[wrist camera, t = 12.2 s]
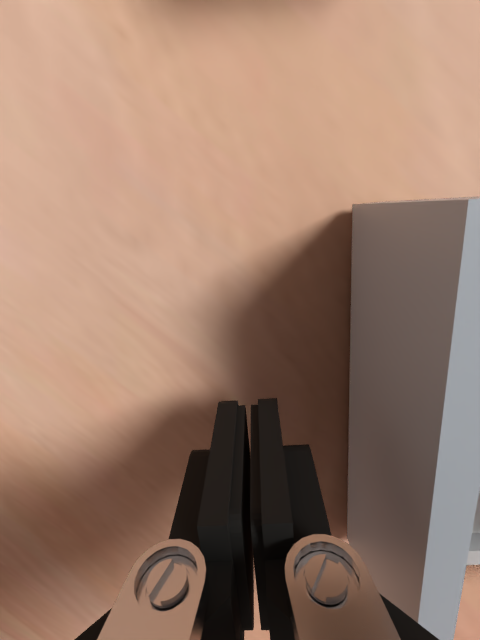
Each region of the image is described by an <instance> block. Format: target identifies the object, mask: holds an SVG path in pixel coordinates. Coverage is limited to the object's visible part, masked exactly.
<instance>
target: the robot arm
mask: <svg viewBox="0 0 480 640" xmlns="http://www.w3.org/2000/svg"><path fill="white" fill-rule="evenodd" d="M253 556H254V565H255V575H256V584H257V594H258V603H259V613H260V622H261V630H270V640H439V639H438V638H437V637H435V636H434V635H433V634H431V633H430V632H429V631H427V630H426V629H425V628H424V627H422V626H421V625H420V624H418V623H417V622H416V621H415V620H413V619H412V618H411V617H409V616H408V615H407V614H406V613H404V612H403V611H402V610H400V609H399V608H398V607H397V606H395V605H394V604H393V603H391V602H390V601H389V600H388V599H386V598H385V597H384V596H382V595H381V594H380V593H379V592H378V590H377V588H376V586H375V584H374V581H373V579H372V577H371V575H370V573H369V571H368V569H367V567H366V565H365V563H364V561H363V560H362V558H361V557H360V555H359V554H358V552H357V551H355V550H354V549H353V548H352V547H351V546H350V545H349V544H348V543H346V542H344V541H343V540H341V539H339V538H337V537H334V536H331V532H330V527H329V523H328V519H327V515H326V511H325V507H324V503H323V499H322V495H321V490H320V486H319V482H318V478H317V474H316V470H315V466H314V462H313V457H312V453H311V449H310V446H309V445H289V446H283V443H282V435H281V428H280V420H279V412H278V404H277V398H274V399H258V405H251V458H250V448H249V438H248V427H247V417H246V407H245V405H241V406H239V405H238V401H222V402H219V403H218V408H217V414H216V419H215V425H214V431H213V437H212V442H211V448H210V450H193V451H192V452H191V454H190V457H189V461H188V465H187V469H186V473H185V477H184V481H183V485H182V489H181V493H180V497H179V500H178V504H177V508H176V512H175V516H174V520H173V524H172V528H171V532H170V536H169V540H166V541H163V542H159V543H157V544H155V545H154V546H152V547H151V548H149V549H147V550H146V551H145V552H144V553H143V554H142V555H141V556H140V557H139V558H138V559H137V561H136V562H135V564H134V565H133V567H132V568H131V570H130V572H129V574H128V576H127V578H126V580H125V582H124V584H123V586H122V588H121V591H120V593H119V595H118V597H117V599H116V601H115V603H114V605H113V607H112V609H110V610H109V611H108V612H107V613H106V614H104V615H103V616H102V617H101V618H100V619H99V620H97V621H96V622H95V623H94V624H93V625H91V626H90V627H89V628H88V629H87V630H86V631H84V632H83V633H82V634H81V635H80V636H78V637H77V638H76V639H75V640H244V630H253V627H254V580H253Z"/></svg>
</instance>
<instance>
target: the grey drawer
mask: <svg viewBox="0 0 480 640" xmlns="http://www.w3.org/2000/svg"><path fill="white" fill-rule="evenodd" d="M479 490H480V197H461V198H443V199H424V200H406V201H387V202H374V203H363V204H353V205H352V265H351V326H350V387H349V447H348V508H347V538H348V541H349V545H350V546H351V547H352V548H353V549H354V550H355V551H357V552H358V554H359V555H360V557H361V558H362V560H363V561H364V563H365V565H366V567H367V569H368V571H369V573H370V575H371V577H372V579H373V581H374V584H375V586H376V588H377V590H378V592H379V593H380V594H381V595H382V596H384V597H385V598H386V599H388V600H389V601H390V602H391V603H393V604H394V605H395V606H397V607H398V608H399V609H400V610H402V611H403V612H404V613H406V614H407V615H408V616H409V617H411V618H412V619H413V620H415V621H416V622H417V623H418V624H420V625H421V626H422V627H424V628H425V629H426V630H427V631H429V632H430V633H431V634H433V635H434V636H435V637H437V638H438V639H439V640H453V639H454V633H455V627H456V622H457V616H458V610H459V604H460V599H461V593H462V587H463V582H464V576H465V570H466V565H480V496H479Z"/></svg>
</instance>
